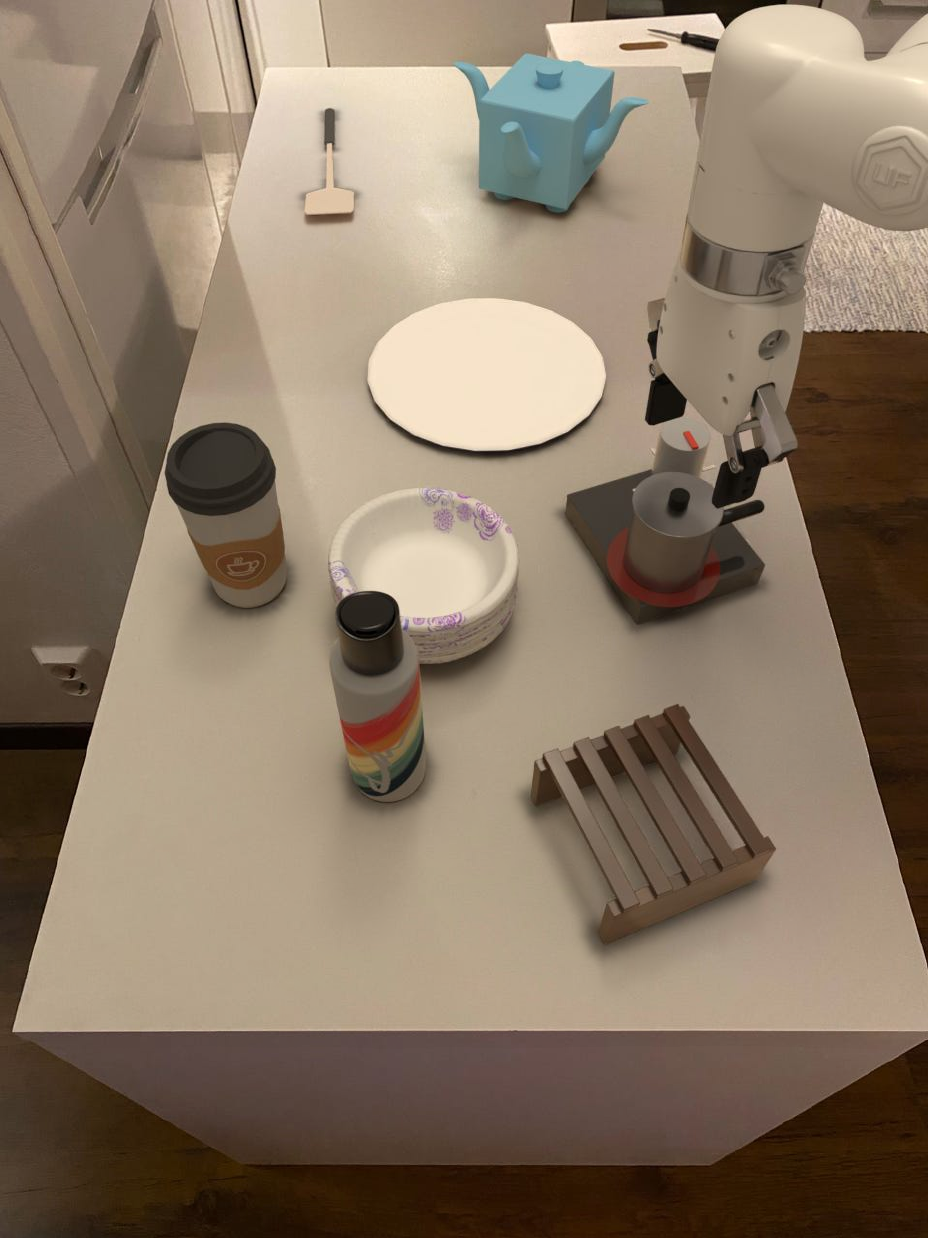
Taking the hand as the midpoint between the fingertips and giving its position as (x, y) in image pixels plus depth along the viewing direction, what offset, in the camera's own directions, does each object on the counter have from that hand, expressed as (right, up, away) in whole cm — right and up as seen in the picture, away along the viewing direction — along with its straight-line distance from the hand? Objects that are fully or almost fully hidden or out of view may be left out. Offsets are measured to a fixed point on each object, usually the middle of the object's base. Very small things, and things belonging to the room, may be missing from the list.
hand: (696, 458), depth 71 cm
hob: (+1, -4, +15) cm, 16 cm away
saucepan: (+2, -6, +10) cm, 12 cm away
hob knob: (+2, +1, +16) cm, 16 cm away
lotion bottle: (-23, -24, +1) cm, 33 cm away
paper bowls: (-21, -12, +10) cm, 26 cm away
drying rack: (-5, -28, -2) cm, 28 cm away
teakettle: (-8, +43, +52) cm, 68 cm away
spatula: (-35, +49, +56) cm, 82 cm away
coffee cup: (-36, -9, +12) cm, 39 cm away
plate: (-15, +13, +29) cm, 35 cm away
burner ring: (0, -7, +10) cm, 12 cm away
